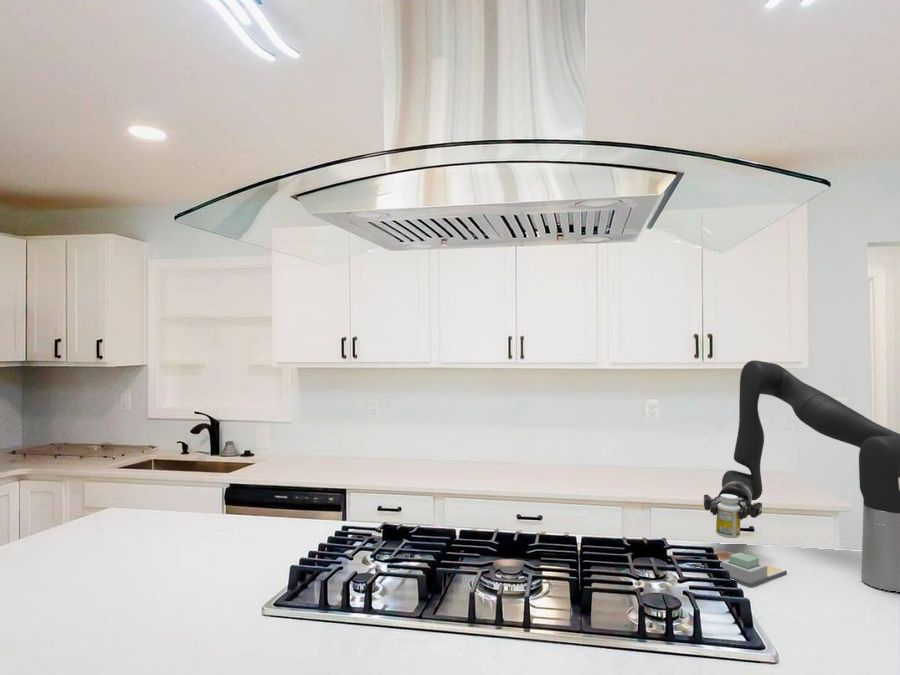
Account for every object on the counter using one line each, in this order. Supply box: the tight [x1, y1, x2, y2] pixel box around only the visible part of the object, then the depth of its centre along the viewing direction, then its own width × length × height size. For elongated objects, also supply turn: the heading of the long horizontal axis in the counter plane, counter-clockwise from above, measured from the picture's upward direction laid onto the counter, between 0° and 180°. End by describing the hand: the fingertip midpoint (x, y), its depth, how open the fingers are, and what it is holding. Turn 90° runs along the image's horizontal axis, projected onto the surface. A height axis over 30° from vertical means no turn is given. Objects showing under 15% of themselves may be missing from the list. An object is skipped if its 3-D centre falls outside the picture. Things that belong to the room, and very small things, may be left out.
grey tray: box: [691, 550, 788, 588], centre depth 144 cm, size 16×15×3 cm
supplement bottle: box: [715, 494, 741, 539], centre depth 150 cm, size 5×5×10 cm
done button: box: [729, 551, 760, 570], centre depth 139 cm, size 4×4×2 cm
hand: (727, 513), depth 148 cm, fingers closed on supplement bottle, 5 cm apart
